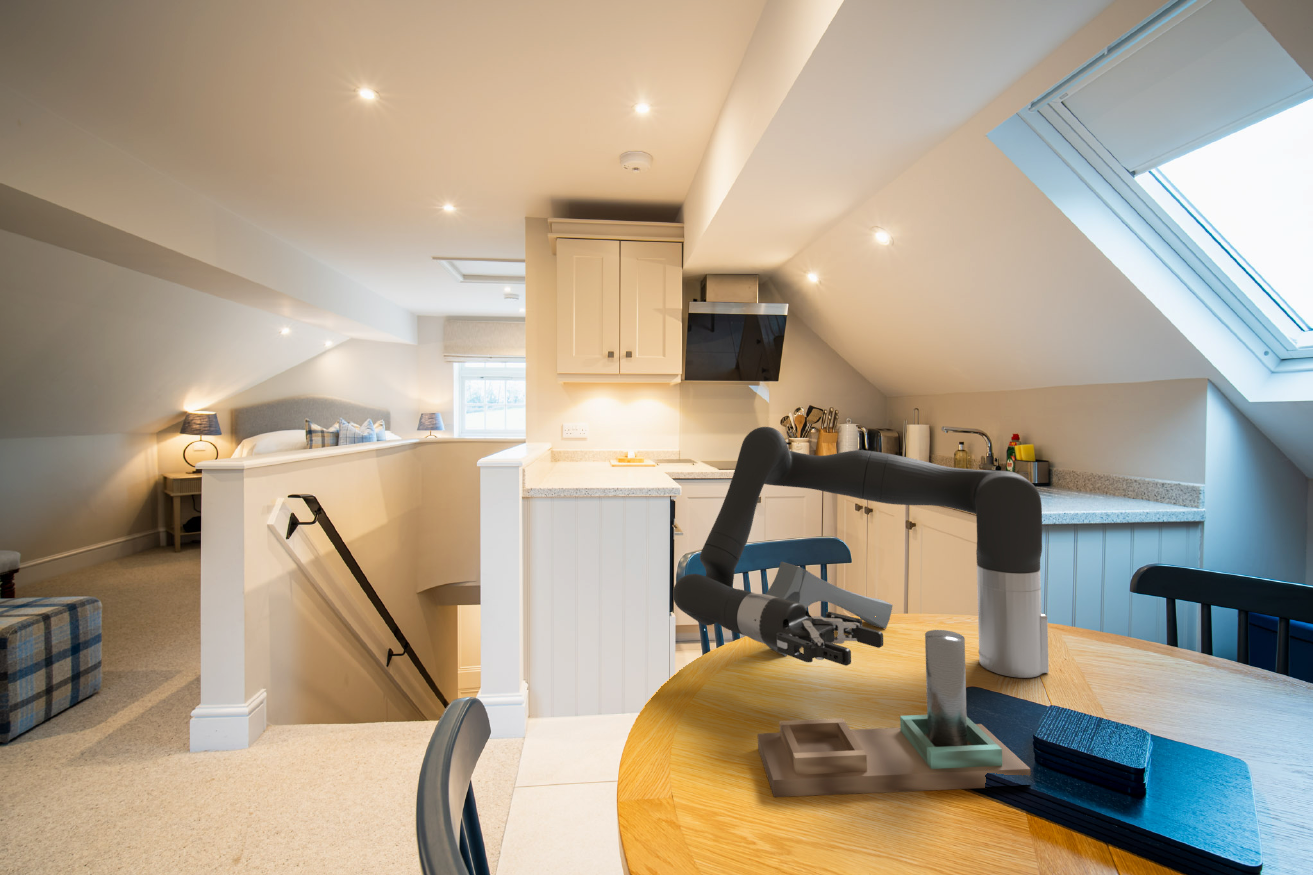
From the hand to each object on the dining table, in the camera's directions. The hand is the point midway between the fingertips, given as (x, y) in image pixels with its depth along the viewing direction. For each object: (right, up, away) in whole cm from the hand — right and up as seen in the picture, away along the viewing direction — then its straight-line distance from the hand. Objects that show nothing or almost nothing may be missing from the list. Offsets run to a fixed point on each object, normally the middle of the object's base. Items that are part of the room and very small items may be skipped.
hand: (866, 648), depth 80 cm
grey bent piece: (+5, -11, +34) cm, 36 cm away
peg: (+7, -9, -8) cm, 14 cm away
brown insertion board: (-1, -12, -8) cm, 14 cm away
